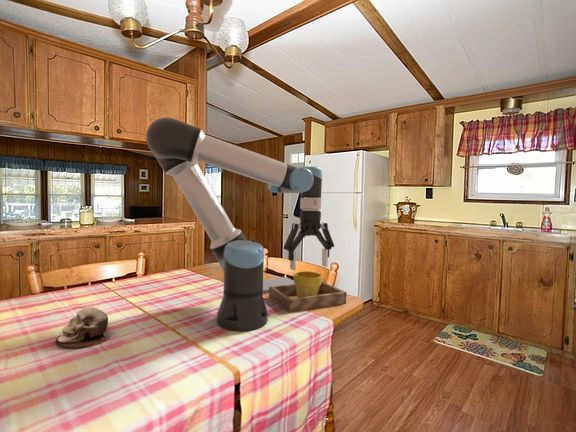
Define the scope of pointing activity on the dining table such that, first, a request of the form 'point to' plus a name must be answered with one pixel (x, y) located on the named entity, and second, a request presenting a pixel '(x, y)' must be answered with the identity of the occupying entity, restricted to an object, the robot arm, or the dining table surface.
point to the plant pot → (307, 283)
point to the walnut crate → (296, 304)
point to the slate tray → (275, 283)
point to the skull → (84, 329)
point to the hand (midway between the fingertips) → (309, 267)
